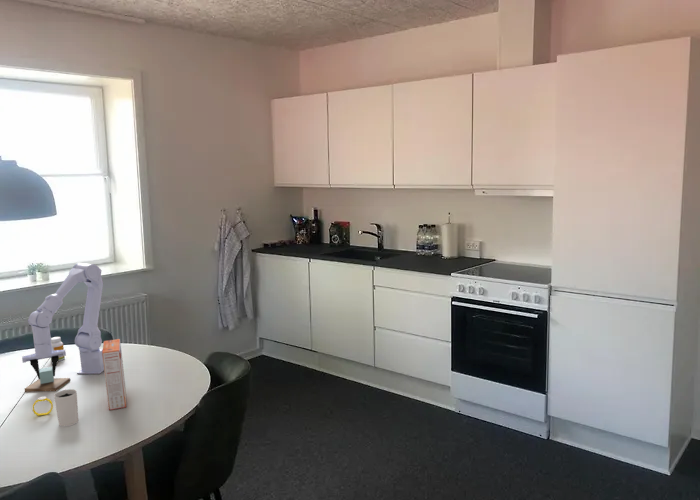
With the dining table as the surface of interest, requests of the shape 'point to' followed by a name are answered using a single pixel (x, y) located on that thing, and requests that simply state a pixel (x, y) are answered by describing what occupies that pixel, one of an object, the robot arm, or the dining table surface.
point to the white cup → (66, 407)
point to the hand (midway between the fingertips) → (46, 376)
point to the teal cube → (46, 375)
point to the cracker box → (114, 374)
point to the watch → (42, 400)
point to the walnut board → (47, 385)
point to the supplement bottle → (57, 346)
